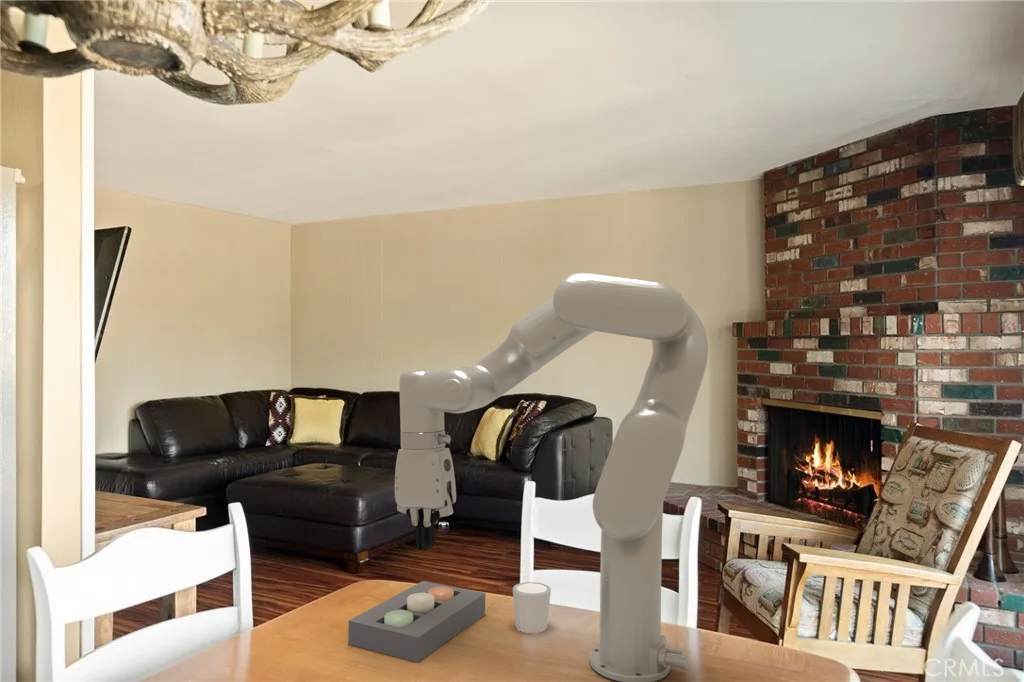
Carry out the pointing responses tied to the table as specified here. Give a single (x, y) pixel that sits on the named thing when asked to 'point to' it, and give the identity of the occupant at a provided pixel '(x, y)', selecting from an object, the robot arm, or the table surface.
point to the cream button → (420, 603)
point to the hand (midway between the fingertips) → (425, 547)
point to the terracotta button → (442, 593)
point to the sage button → (398, 618)
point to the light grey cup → (531, 606)
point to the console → (416, 623)
